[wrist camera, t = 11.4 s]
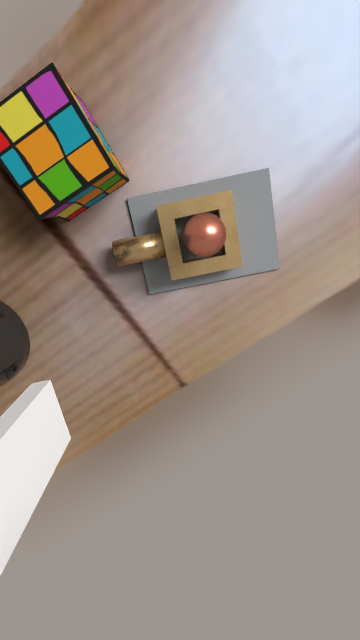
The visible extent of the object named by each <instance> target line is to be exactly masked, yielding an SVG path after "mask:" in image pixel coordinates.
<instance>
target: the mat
mask: <svg viewBox="0 0 360 640" xmlns="http://www.w3.org/2000/svg"><path fill="white" fill-rule="evenodd" d="M229 190H232V195H233V202H234V209H235V216H236V223H237V230H238V237H239V244H240V251H241V258H242V265H243V266H242V267H237V268H232V269H227V270H222V271H217V272H212V273H207V274H202V275H197V276H192V277H187V278H182V279H177V280H171V275H170V270H169V265H168V261H167V257H163V258H158V259H153V260H148V261H144V262H142V265H143V269H144V274H145V278H146V282H147V286H148V291H149V295H150V294H155V293H160V292H165V291H170V290H175V289H180V288H185V287H190V286H195V285H200V284H205V283H210V282H215V281H220V280H225V279H230V278H235V277H240V276H245V275H250V274H255V273H260V272H266V271H271V270H276V269H280V266H279V257H278V248H277V238H276V229H275V220H274V211H273V202H272V193H271V184H270V175H269V168H266V169H262V170H257V171H253V172H248V173H243V174H239V175H234V176H230V177H225V178H220V179H216V180H211V181H207V182H202V183H197V184H193V185H188V186H184V187H179V188H174V189H170V190H165V191H161V192H156V193H151V194H147V195H142V196H138V197H133V198H128V199H127V201H128V205H129V209H130V214H131V218H132V222H133V226H134V231H135V235H136V236H140V235H144V234H149V233H154V232H159V231H161V227H160V223H159V218H158V213H157V208H156V206H159V205H163V204H168V203H173V202H177V201H182V200H187V199H191V198H196V197H201V196H205V195H210V194H215V193H219V192H224V191H229ZM206 213H211V214H214V215H216V216H217V214H216V211H211V212H206ZM193 216H195V215H192V216H187V217H183V218H178V219H175V224H176V229H177V234H178V239H179V244H180V249H181V254H182V260H183V261H184V260H189V259H194V258H199V257H202V256H198V255H195V254H194V253H192V252H191V251H190V250H189V249H188V248H187V246H186V244H185V242H184V239H183V233H184V229H185V226H186V224H187V223H188V221H189V220H190V219H191V218H192V217H193ZM219 253H223V252H222V248H221V249H220V250H219V251H218V252H217V253H216V254H219Z"/></svg>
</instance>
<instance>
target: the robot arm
mask: <svg viewBox="0 0 360 640" xmlns="http://www.w3.org/2000/svg"><path fill="white" fill-rule="evenodd" d="M29 350H30V342H29V336H28V332H27V330H26V327H25V325H24V323H23V322H22V320H21V319H20V317H19V316H18V315H17V314H16V313H15V312H14V311H13V310H12V309H11V308H10V307H9V306H8V305H6V304H5V303H3V302H1V301H0V385H2V384H4V383H5V382H7V381H9V380H10V379H11V378H13V377H14V376H15V375H16V374H17V373H18V372H19V371H20V370H21V369H22V368H23V366H24V365H25V363H26V361H27V359H28V356H29ZM70 439H71V437H70V434H69V431H68V429H67V426H66V423H65V420H64V417H63V414H62V412H61V409H60V406H59V403H58V400H57V397H56V395H55V392H54V389H53V386H52V383H51V380H48V381H42V382H37V383H32V384H31V385H30V386H29V387H28V388H27V389H26V390H25V391H24V392H23V393H22V394H21V395H20V397H19V398H18V399H17V400H16V401H15V402H14V403H13V404H12V405H11V406H10V407H9V408H8V409H7V410H6V411H5V412H4V414H3V415H2V416H1V417H0V575H1V573H2V571H3V569H4V568H5V566H6V564H7V561H8V560H9V558H10V556H11V554H12V552H13V550H14V548H15V546H16V544H17V542H18V540H19V538H20V536H21V534H22V533H23V531H24V529H25V527H26V525H27V523H28V521H29V519H30V517H31V515H32V513H33V511H34V509H35V507H36V505H37V503H38V501H39V499H40V498H41V495H42V494H43V492H44V490H45V488H46V486H47V484H48V482H49V480H50V478H51V476H52V474H53V472H54V470H55V468H56V466H57V464H58V463H59V461H60V459H61V457H62V455H63V453H64V451H65V449H66V447H67V445H68V443H69V441H70Z"/></svg>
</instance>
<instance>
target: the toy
mask: <svg viewBox="0 0 360 640" xmlns="http://www.w3.org/2000/svg"><path fill="white" fill-rule="evenodd" d="M0 164H1V165H2V166H3V168H4V169H5V171H6V172H7V174H8V175H9V177H10V178H11V179H12V181H13V182H14V184H15V185H16V187H17V188H18V190H19V191H20V192H21V194H22V195H23V197H24V198H25V200H26V201H27V203H28V204H29V205H30V207H31V208H32V210H33V211H34V213H35V214H36V216H37V217H38V218H39V220H42V219H49V218H55V217H58V218H61V219H64V220H67V221H70V220H71V219H73V218H74V217H76V216H77V215H79V214H80V213H82V212H83V211H85V210H86V209H88V208H89V207H91V206H92V205H94V204H95V203H97V202H98V201H100V200H101V199H103V198H104V197H106V196H107V195H109V194H110V193H112V192H113V191H115V190H116V189H118V188H119V187H121V186H122V185H124V184H125V183H127V182H128V181H130V180H129V179H128V177H127V175H126V174H125V172H124V170H123V169H122V167H121V165H120V163H119V162H118V160H117V158H116V157H115V155H114V153H113V152H112V150H111V148H110V147H109V145H108V143H107V142H106V140H105V138H104V137H103V135H102V133H101V132H100V130H99V128H98V126H97V125H96V123H95V121H94V120H93V118H92V116H91V115H90V113H89V111H88V110H87V108H86V106H85V105H84V103H83V101H82V100H81V99H80V98H79V97H78V96H77V95H76V94H75V93H74V92H73V91H72V90H71V89H70V88H69V86H68V85H67V83H66V82H65V80H64V79H63V77H62V76H61V74H60V73H59V72H58V70H57V69H56V67H55V66H54V64H53V63H50V64H49V65H48V66H47V67H45V68H44V69H43V70H41V71H40V72H39V73H37V74H36V75H35V76H34V77H32V78H31V79H30V80H28V81H27V82H26V83H24V84H23V85H22V86H21V87H19V88H18V89H17V90H15V91H14V92H13V93H11V94H10V95H9V96H8V97H6V98H5V99H4V100H2V101H1V102H0Z"/></svg>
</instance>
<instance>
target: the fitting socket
mask: <svg viewBox="0 0 360 640" xmlns="http://www.w3.org/2000/svg"><path fill="white" fill-rule="evenodd" d="M156 208H157V213H158V218H159V223H160V227H161V231H159V232H154V233H149V234H144V235H140V236H135V237H130V238H125V239H121V240H116V241H113V242H112V247H113V253H114V257H115V260H116V263H117V265H118V266H124V265H129V264H134V263H139V262H144V261H148V260H153V259H158V258H163V257H167V261H168V265H169V270H170V275H171V280H177V279H182V278H187V277H192V276H197V275H202V274H207V273H212V272H217V271H222V270H227V269H232V268H237V267H242V266H243V265H242V258H241V251H240V244H239V237H238V230H237V223H236V216H235V209H234V202H233V195H232V190H229V191H224V192H219V193H215V194H210V195H205V196H201V197H196V198H191V199H187V200H182V201H177V202H173V203H168V204H163V205H159V206H156ZM211 211H216V214H217V217H219V218H220V219H221V220H222V222H223V223H224V225H225V228H226V240H225V243H224V245H223V247H222V252H223V253H219V254H214V255H212V256H207V257H199V258H194V259H189V260H184V261H183V260H182V254H181V249H180V244H179V239H178V234H177V229H176V224H175V219H178V218H183V217H187V216H192V215H197V214H200V213H206V212H211Z"/></svg>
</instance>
